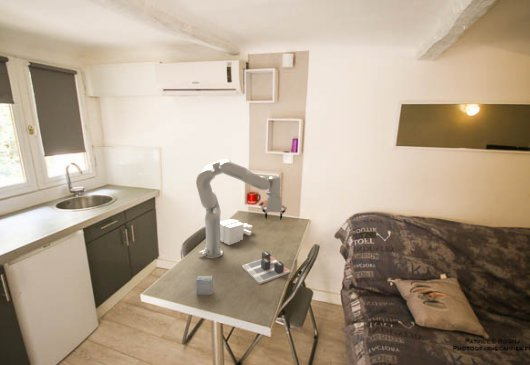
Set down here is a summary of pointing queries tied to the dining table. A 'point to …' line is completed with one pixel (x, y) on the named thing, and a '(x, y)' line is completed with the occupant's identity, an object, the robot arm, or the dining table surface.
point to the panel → (265, 275)
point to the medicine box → (204, 285)
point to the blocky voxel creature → (233, 231)
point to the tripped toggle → (265, 264)
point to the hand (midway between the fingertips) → (273, 218)
